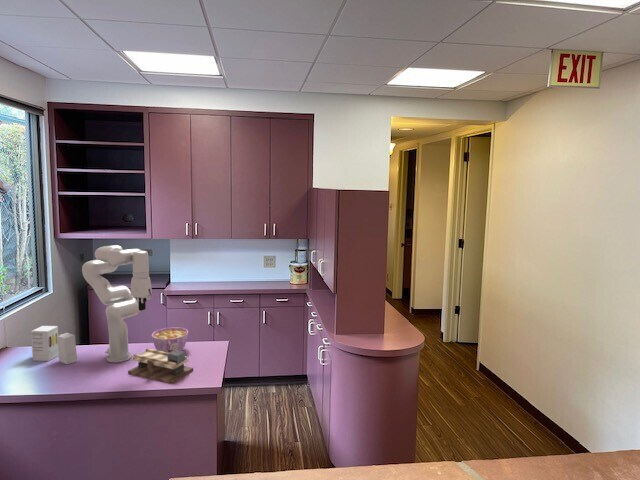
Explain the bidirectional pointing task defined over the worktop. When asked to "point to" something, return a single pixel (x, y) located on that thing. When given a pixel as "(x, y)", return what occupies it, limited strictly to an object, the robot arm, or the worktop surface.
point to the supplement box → (44, 343)
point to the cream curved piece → (157, 358)
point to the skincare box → (67, 348)
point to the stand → (160, 371)
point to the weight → (176, 356)
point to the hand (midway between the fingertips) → (142, 309)
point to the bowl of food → (170, 339)
